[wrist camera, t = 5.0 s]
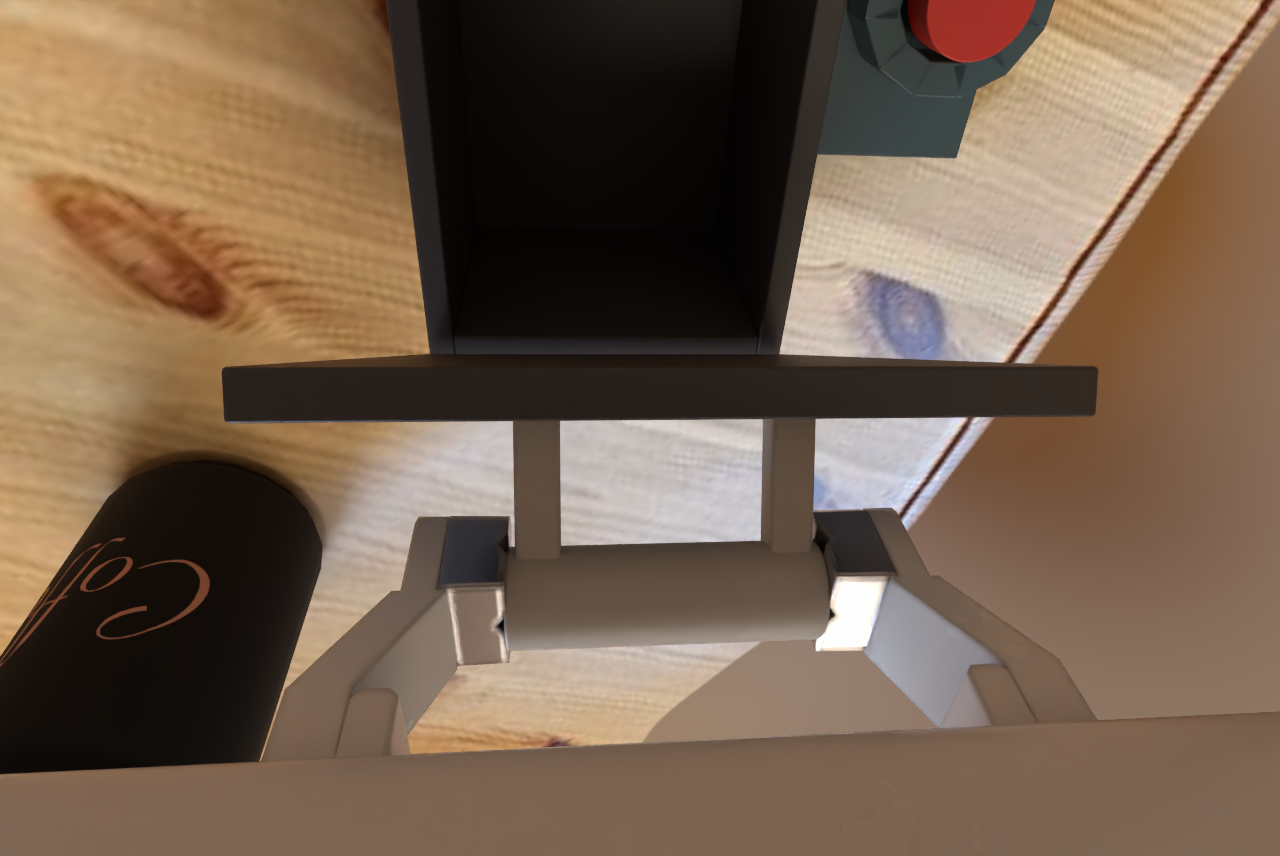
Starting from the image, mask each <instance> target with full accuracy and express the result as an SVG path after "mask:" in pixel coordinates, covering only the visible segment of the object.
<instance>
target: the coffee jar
mask: <svg viewBox="0 0 1280 856" xmlns="http://www.w3.org/2000/svg"><path fill="white" fill-rule="evenodd" d="M321 560H322V543H321V540H320V537H319V535H318V532H317V530H316V527H315V525H314V522H313V520H312V518H311V517H310V516H309V513H308V511H307V510H306V508H305V507H304V506H303V505H302V504H301V503H300V502H299V501H298V499H297V498H296V497H295V496H294V495H293V494H292V493H291V492H290V491H289V490H287V489H286V488H284V487H283V486H281V485H280V484H278V483H277V482H275V481H274V480H272V479H270V478H269V477H267V476H266V475H263V474H260V473H257V472H255V471H252V470H249V469H247V468H244V467H241V466H239V465H234V464H228V463H221V462H214V461H207V460H202V461H189V462H177V463H172V464H170V465H165V466H161V467H158V468H156V469H153V470H150V471H147V472H145V473H142V474H139V475H137V476H134V477H132V478H130V479H129V480H127V481H126V482H125V483H124V484H123V485H122V486H120V487H119V488H118V489H117V490H116V491H115V492H114V493H113V494H111V495H110V496H109V497H108V499H107V500H106V502H105V503H104V505H103V506H102V507H101V509H100V510H99V512H98V513H97V515H96V516H95V518H94V519H93V521H92V522H91V524H90V525H89V527H88V528H87V530H86V531H85V533H84V534H83V536H82V537H81V538H80V540H79V541H78V543H77V544H76V546H75V547H74V549H73V550H72V552H71V553H70V555H69V556H68V558H67V559H66V561H65V562H64V564H63V565H62V566H61V568H60V569H59V571H58V572H57V574H56V575H55V577H54V578H53V580H52V581H51V583H50V584H49V586H48V587H47V589H46V590H45V592H44V593H43V595H42V596H41V597H40V599H39V600H38V602H37V603H36V605H35V606H34V608H33V609H32V611H31V612H30V614H29V615H28V617H27V618H26V620H25V621H24V623H23V624H22V625H21V627H20V628H19V630H18V631H17V633H16V634H15V636H14V637H13V639H12V640H11V642H10V643H9V645H8V646H7V648H6V649H5V651H4V652H3V654H2V655H1V656H0V774H18V773H38V772H58V771H79V770H99V769H119V768H139V767H159V766H179V765H200V764H220V763H240V762H259V760H260V757H261V754H262V751H263V748H264V744H265V741H266V738H267V735H268V732H269V729H270V726H271V723H272V719H273V716H274V713H275V710H276V707H277V704H278V701H279V698H280V694H281V691H282V688H283V685H284V682H285V679H286V676H287V673H288V669H289V666H290V663H291V660H292V657H293V654H294V651H295V647H296V644H297V641H298V638H299V635H300V632H301V629H302V626H303V622H304V619H305V616H306V613H307V610H308V607H309V604H310V601H311V597H312V594H313V591H314V588H315V585H316V582H317V579H318V576H319V572H320V569H321Z"/></svg>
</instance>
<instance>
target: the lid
mask: <svg viewBox="0 0 1280 856" xmlns="http://www.w3.org/2000/svg"><path fill="white" fill-rule="evenodd" d="M1097 381H1098V369H1097V368H1096V367H1094V366H1074V365H1048V364H1021V363H995V362H968V361H942V360H915V359H889V358H862V357H836V356H809V355H783V354H424V355H408V356H392V357H376V358H360V359H344V360H328V361H312V362H296V363H281V364H265V365H249V366H233V367H225V368H223V369H222V386H223V404H224V419H225V422H227V423H325V422H450V421H513V451H514V516H515V547H510V548H509V549H508V550H507V552H506V555H507V573H506V612H505V613H504V632H505V643H506V647H507V650H509V651H523V650H549V649H574V648H600V647H626V646H652V645H678V644H704V643H730V642H755V641H780V640H807V639H818V638H820V637H822V636H823V634H824V633H825V631H826V628H827V625H828V621H829V614H830V590H829V580H828V574H827V569H826V565H825V561H824V558H823V554H822V552H821V550H820V548H819V546H818V545H817V544H816V543H815V542H814V541H812V533H813V495H814V456H815V419H825V418H949V417H1063V416H1064V417H1069V416H1070V417H1071V416H1072V417H1073V416H1093V415H1095V411H1096V396H1097ZM700 419H763V452H762V505H761V541H736V542H695V543H655V544H615V545H575V546H561V511H560V421H575V420H700Z"/></svg>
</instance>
